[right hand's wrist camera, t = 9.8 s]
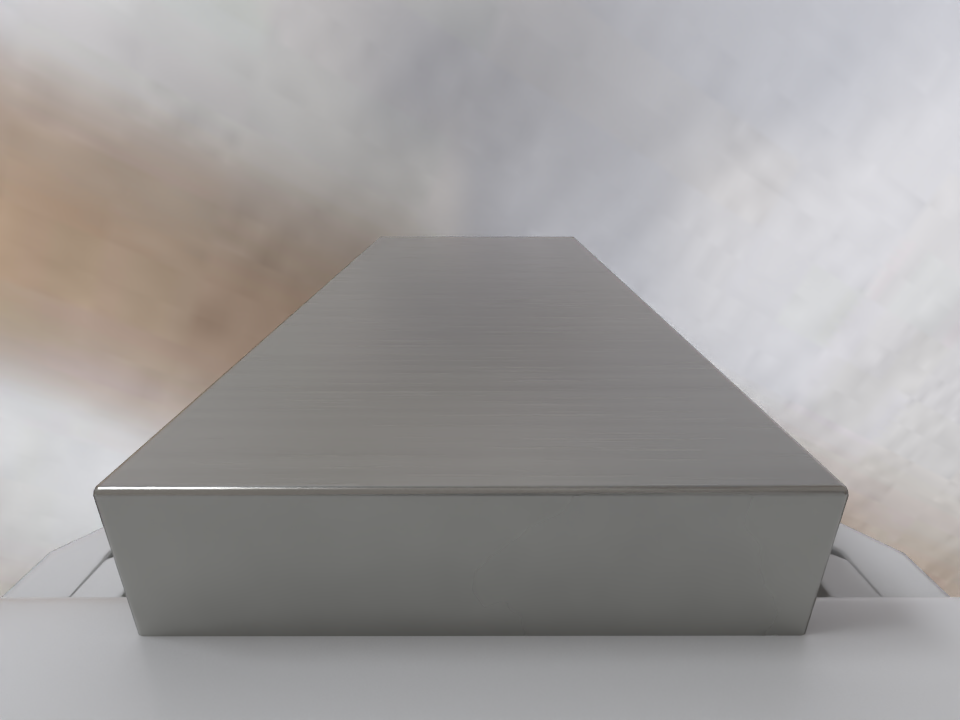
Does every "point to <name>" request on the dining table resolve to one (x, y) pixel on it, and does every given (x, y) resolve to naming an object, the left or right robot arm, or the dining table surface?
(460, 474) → the box
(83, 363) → the dining table surface
